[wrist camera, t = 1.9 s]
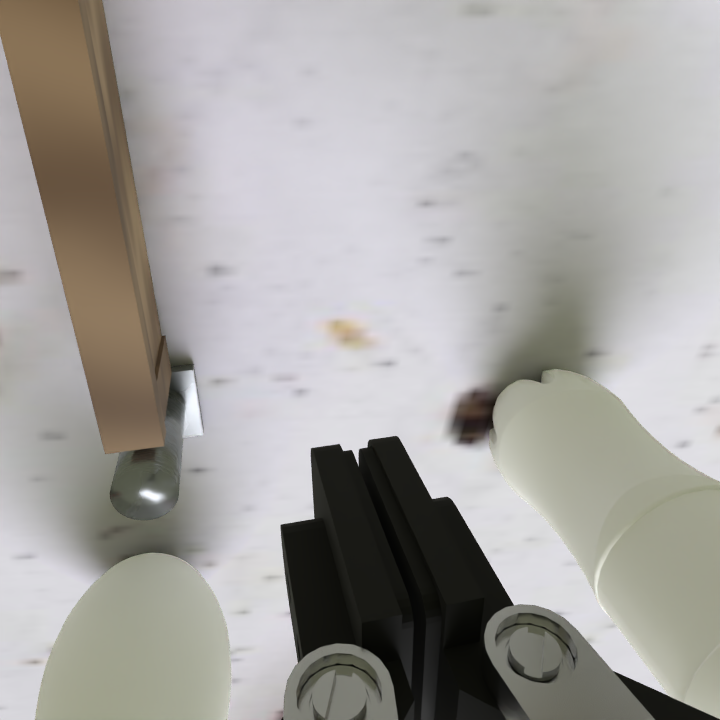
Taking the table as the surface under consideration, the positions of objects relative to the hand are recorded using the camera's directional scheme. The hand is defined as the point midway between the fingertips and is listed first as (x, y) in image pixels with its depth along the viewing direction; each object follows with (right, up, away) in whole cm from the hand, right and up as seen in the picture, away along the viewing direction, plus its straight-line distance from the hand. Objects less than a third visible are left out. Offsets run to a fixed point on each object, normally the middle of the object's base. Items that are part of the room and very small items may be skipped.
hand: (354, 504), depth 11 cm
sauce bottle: (-11, -9, +21) cm, 25 cm away
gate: (-9, +12, +10) cm, 18 cm away
